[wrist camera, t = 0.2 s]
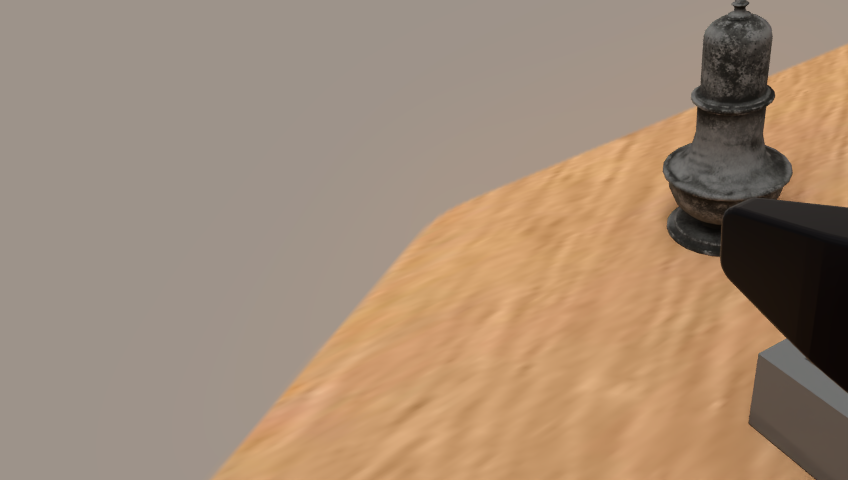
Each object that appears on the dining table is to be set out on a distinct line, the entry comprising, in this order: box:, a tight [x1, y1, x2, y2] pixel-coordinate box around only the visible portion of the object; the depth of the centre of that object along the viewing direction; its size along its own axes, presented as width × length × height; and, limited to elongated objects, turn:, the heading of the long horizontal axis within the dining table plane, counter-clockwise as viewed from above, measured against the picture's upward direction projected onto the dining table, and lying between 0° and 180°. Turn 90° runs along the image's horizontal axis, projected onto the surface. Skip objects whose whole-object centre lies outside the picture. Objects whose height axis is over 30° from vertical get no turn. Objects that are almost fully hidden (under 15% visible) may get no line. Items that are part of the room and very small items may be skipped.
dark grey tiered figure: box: [663, 0, 793, 256], centre depth 33 cm, size 6×6×12 cm
